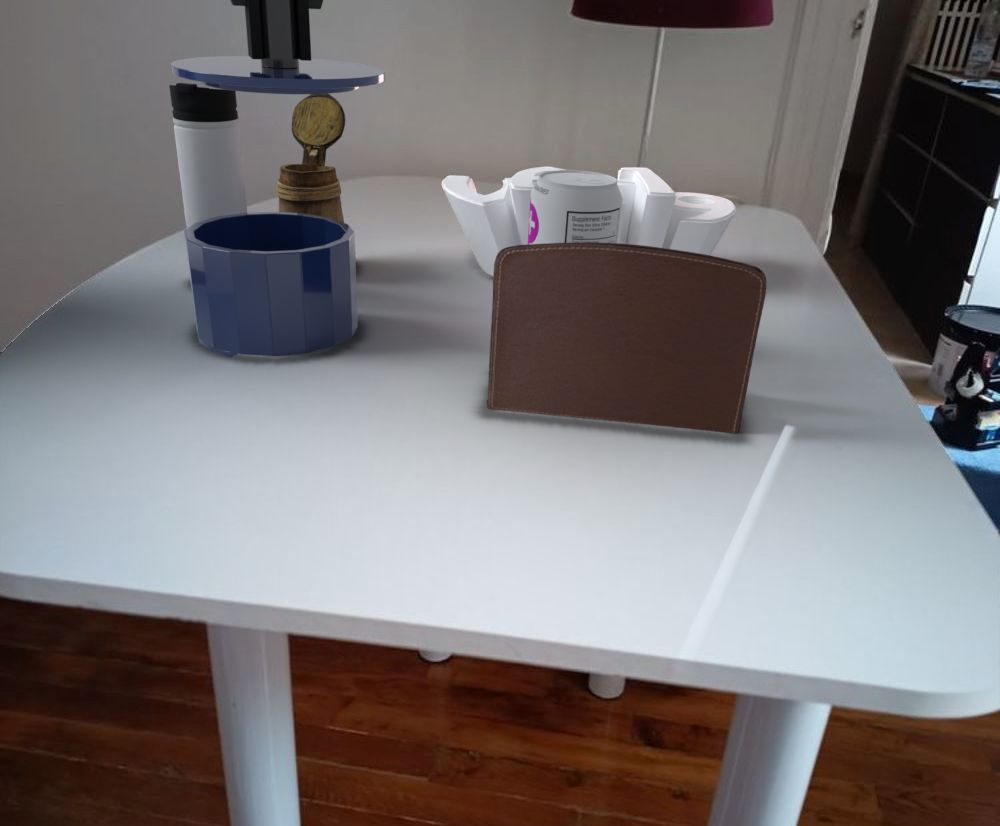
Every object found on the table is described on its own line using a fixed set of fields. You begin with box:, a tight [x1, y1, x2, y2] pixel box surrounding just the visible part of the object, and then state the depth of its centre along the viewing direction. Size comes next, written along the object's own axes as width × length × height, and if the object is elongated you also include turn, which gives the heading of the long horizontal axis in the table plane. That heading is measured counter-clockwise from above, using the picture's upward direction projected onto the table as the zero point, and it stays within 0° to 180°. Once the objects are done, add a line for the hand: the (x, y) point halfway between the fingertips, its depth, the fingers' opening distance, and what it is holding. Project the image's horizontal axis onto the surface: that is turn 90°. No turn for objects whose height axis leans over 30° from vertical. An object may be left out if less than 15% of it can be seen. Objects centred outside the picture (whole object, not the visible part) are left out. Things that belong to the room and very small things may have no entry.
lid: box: [170, 0, 386, 95], centre depth 67 cm, size 16×16×8 cm
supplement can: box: [528, 169, 623, 244], centre depth 85 cm, size 8×8×15 cm
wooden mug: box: [275, 94, 346, 223], centre depth 102 cm, size 9×14×18 cm, turn 178°
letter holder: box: [486, 242, 768, 435], centre depth 72 cm, size 10×20×14 cm, turn 82°
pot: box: [183, 211, 359, 358], centre depth 84 cm, size 15×15×10 cm
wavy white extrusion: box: [441, 166, 737, 277], centre depth 107 cm, size 35×16×11 cm, turn 88°
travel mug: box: [168, 82, 248, 229], centre depth 93 cm, size 6×7×20 cm
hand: (279, 57), depth 68 cm, fingers closed on lid, 3 cm apart
